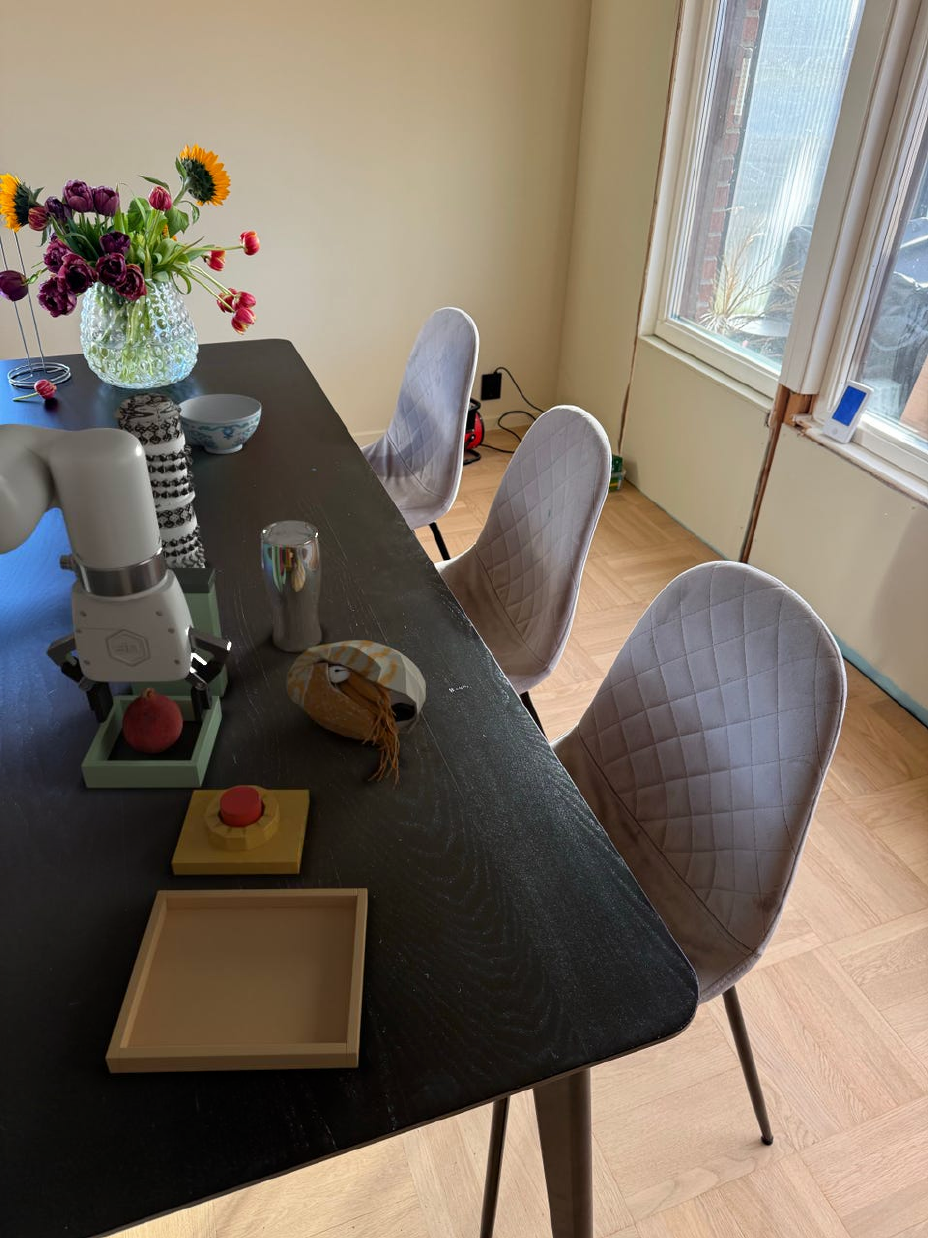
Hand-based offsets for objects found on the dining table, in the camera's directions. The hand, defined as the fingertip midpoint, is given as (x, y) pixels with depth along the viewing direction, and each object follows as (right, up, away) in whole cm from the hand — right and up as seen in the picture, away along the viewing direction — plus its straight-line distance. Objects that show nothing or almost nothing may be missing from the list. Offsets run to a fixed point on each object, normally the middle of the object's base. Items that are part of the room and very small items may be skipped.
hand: (154, 713), depth 87 cm
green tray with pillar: (-1, -2, +5) cm, 6 cm away
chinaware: (-13, +41, +73) cm, 85 cm away
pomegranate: (-1, -4, +3) cm, 5 cm away
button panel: (+11, -11, -7) cm, 17 cm away
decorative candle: (-9, +16, +33) cm, 38 cm away
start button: (+11, -8, -8) cm, 16 cm away
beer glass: (+10, +7, +21) cm, 25 cm away
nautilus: (+20, -3, +7) cm, 22 cm away
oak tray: (+15, -19, -19) cm, 31 cm away
